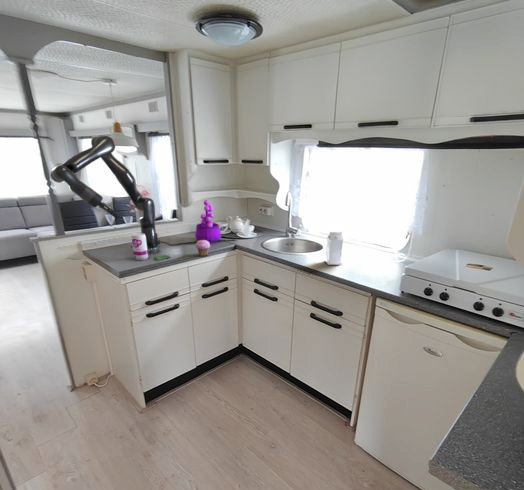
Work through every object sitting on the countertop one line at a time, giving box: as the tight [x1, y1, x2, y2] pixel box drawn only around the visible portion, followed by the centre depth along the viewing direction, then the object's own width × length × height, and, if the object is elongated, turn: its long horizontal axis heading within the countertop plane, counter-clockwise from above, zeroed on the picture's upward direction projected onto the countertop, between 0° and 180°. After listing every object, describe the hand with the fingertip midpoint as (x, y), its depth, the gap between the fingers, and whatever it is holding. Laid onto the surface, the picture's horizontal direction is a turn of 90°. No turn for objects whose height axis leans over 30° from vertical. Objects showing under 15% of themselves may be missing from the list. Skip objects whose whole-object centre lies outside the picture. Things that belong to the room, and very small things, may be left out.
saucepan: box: [130, 244, 160, 255], centre depth 212 cm, size 19×11×4 cm, turn 76°
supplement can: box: [130, 232, 149, 261], centre depth 196 cm, size 8×8×15 cm
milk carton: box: [325, 231, 344, 266], centre depth 192 cm, size 7×7×19 cm
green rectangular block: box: [153, 254, 170, 261], centre depth 199 cm, size 8×4×1 cm, turn 136°
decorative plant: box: [194, 199, 222, 244], centre depth 232 cm, size 19×19×30 cm
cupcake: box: [195, 240, 211, 257], centre depth 205 cm, size 9×9×10 cm
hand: (117, 216), depth 183 cm, fingers open, 6 cm apart
